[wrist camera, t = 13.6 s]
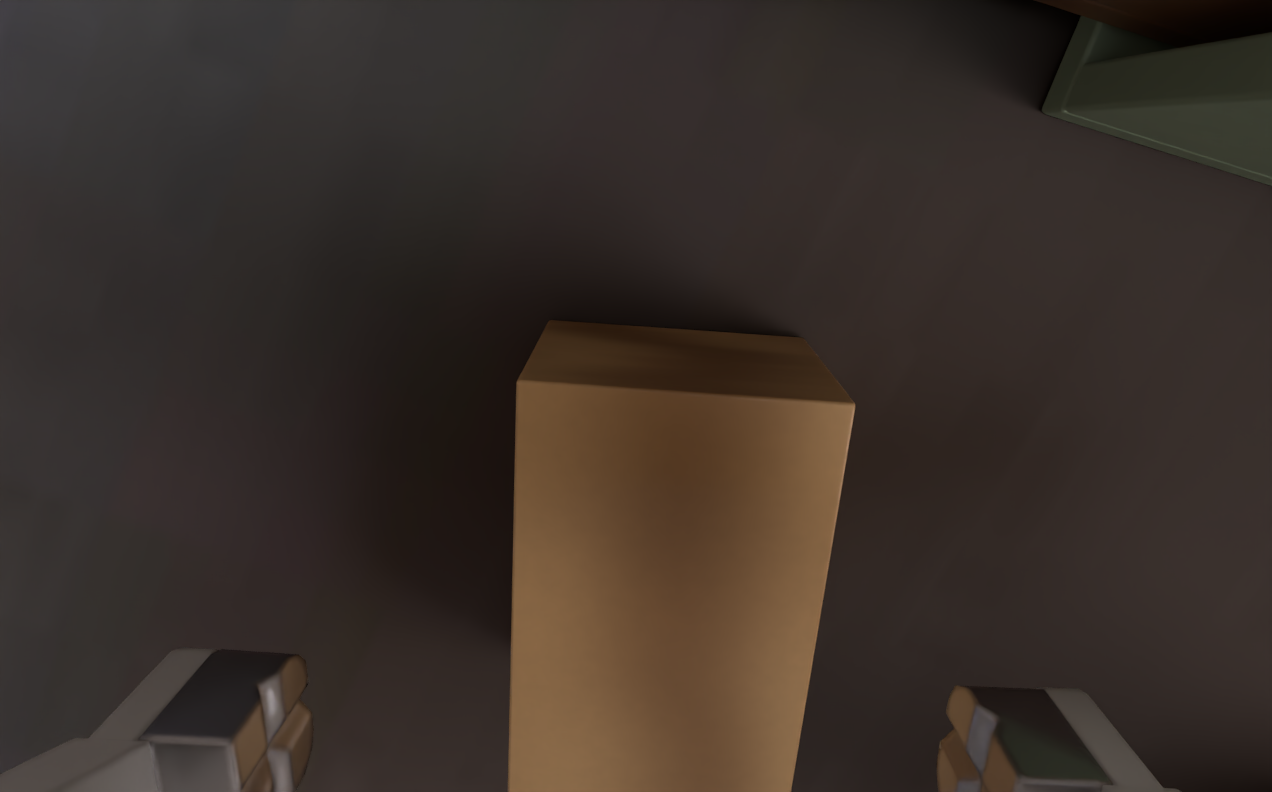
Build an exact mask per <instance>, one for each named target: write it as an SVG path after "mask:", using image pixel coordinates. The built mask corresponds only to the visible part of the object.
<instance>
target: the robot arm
mask: <svg viewBox="0 0 1272 792" xmlns="http://www.w3.org/2000/svg"><path fill="white" fill-rule="evenodd" d="M308 684H309V680H308V673H307V666H306V660H305V659H303V658H302V657H301V656H300V655H299V654H284V653H270V652H255V651H241V650H226V649H222V650H217V649H205V648H187V647H182V648H179V649H176V650H173V651H171V652H170V653H169V654H168V655H167V656H166V657H165V658H164V659H163V660H162V661H161V662H160V663H159V664H158V665H157V666H156V667H155V668H154V669H153V670H152V672H151V673H150V674H149V675H148V676H147V677H146V678H145V679H144V680H143V681H142V682H141V683H140V684H139V685H138V686H137V687H136V688H135V689H134V690H133V692H132V693H131V694H130V695H129V696H128V697H127V698H126V699H125V700H124V701H123V702H122V703H121V704H120V705H119V706H118V707H117V708H116V709H115V710H114V712H113V713H112V714H111V715H110V716H109V717H108V718H107V719H106V720H105V721H104V722H103V723H102V724H101V725H100V726H99V727H98V728H97V729H96V730H95V732H94V733H93V734H92V735H91V736H90V737H89V738H73V739H71V740H69V741H67V742H65V743H63V744H61V745H59V746H57V747H55V748H53V749H51V750H49V751H47V752H44V753H42V754H40V755H38V756H36V757H34V758H32V759H30V760H28V761H26V762H24V763H22V764H20V765H18V766H16V767H14V768H12V769H10V770H7V771H5V772H3V773H1V774H0V792H296V790H297V788H298V786H299V784H300V782H301V780H302V778H303V776H304V775H305V772H306V768H307V765H308V761H309V758H310V754H311V751H312V743H313V730H314V729H313V718H312V712H311V711H310V710H309V709H308V708H307V706H306V705H305V704H304V703H303V702H302V701H301V700H300V699H299V698H300V696H301V695H302V693H303V692H304V690H305V688H306V687H307V685H308ZM946 713H947V715H948V717H949V719H950V721H951V723H952V725H953V727H954V729H953V730H952V731H951V732H950V733H949V734H948V735H947V736H946V737H945V738H943V739H942V740H941V741H940V745H939V751H938V757H937V764H936V766H937V781H938V790H939V792H1181V791H1180V790H1178V789H1171V788H1163V787H1162V786H1161V784H1160V783H1159V782H1158V781H1157V780H1156V778H1155V777H1154V776H1153V775H1152V773H1151V772H1150V771H1149V770H1148V768H1147V767H1146V766H1145V765H1144V763H1143V762H1142V761H1141V760H1140V758H1139V757H1138V756H1137V755H1136V753H1135V752H1134V751H1133V750H1132V749H1131V747H1130V746H1129V745H1128V744H1127V742H1126V741H1125V740H1124V739H1123V737H1122V736H1121V735H1120V734H1119V732H1118V731H1117V730H1116V729H1115V727H1114V726H1113V725H1112V724H1111V722H1110V721H1109V720H1108V719H1107V717H1106V716H1105V715H1104V714H1103V713H1102V711H1101V710H1100V709H1099V708H1098V706H1097V705H1096V704H1095V703H1094V701H1093V700H1092V699H1091V698H1090V696H1089V695H1088V694H1087V693H1085V692H1083V691H1081V690H1080V689H1078V688H1043V687H1037V688H1035V689H1029V688H1005V687H981V686H957V685H956V686H955V687H954V689H953V691H952V692H951V694H950V696H949V701H948V705H947V710H946Z"/></svg>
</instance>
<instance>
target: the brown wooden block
mask: <svg viewBox="0 0 1272 792" xmlns="http://www.w3.org/2000/svg"><path fill="white" fill-rule="evenodd" d="M854 412H855V403H854V402H853V400H852V399H851V398H850V396H849V395H848V394H847V393H846V391H845V390H844V389H843V388H842V386H841V385H840V384H839V383H838V381H837V380H836V379H835V377H834V376H833V375H832V374H831V372H830V371H829V370H828V369H827V367H826V366H825V365H824V364H823V362H822V361H821V360H820V358H819V357H818V356H817V355H816V353H815V352H814V351H813V350H812V348H811V347H810V346H809V345H808V343H807V342H806V341H805V339H804V338H800V337H786V336H772V335H757V334H743V333H729V332H715V331H700V330H686V329H672V328H657V327H643V326H629V325H614V324H600V323H586V322H571V321H557V320H550V321H548V323H547V325H546V327H545V329H544V331H543V333H542V335H541V337H540V338H539V340H538V342H537V344H536V346H535V348H534V350H533V352H532V354H531V355H530V357H529V359H528V361H527V363H526V365H525V367H524V369H523V371H522V373H521V374H520V376H519V378H518V380H517V382H516V423H515V470H514V518H513V565H512V613H511V660H510V708H509V755H508V792H791V789H792V783H793V777H794V771H795V765H796V759H797V753H798V747H799V741H800V735H801V729H802V723H803V717H804V711H805V705H806V699H807V693H808V687H809V681H810V675H811V669H812V663H813V657H814V651H815V645H816V639H817V633H818V627H819V621H820V615H821V610H822V604H823V598H824V592H825V586H826V580H827V574H828V568H829V562H830V556H831V550H832V544H833V538H834V532H835V526H836V520H837V514H838V508H839V502H840V496H841V490H842V484H843V478H844V472H845V466H846V460H847V454H848V448H849V442H850V436H851V430H852V424H853V418H854Z"/></svg>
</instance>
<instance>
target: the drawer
mask: <svg viewBox="0 0 1272 792" xmlns="http://www.w3.org/2000/svg"><path fill="white" fill-rule="evenodd" d="M1035 1H1038V2H1041V3H1044V4H1047V5H1050V6H1054V7H1057V8H1060V9H1063V10H1066V11H1069V12H1072V13H1075V14H1078V15H1081V16H1084V17H1087V18H1090V19H1093V20H1096V21H1099V22H1102V23H1105V24H1108V25H1111V26H1114V27H1118V28H1121V29H1124V30H1127V31H1130V32H1133V33H1136V34H1139V35H1142V36H1145V37H1148V38H1151V39H1154V40H1157V41H1160V42H1163V43H1166V44H1169V45H1172V46H1175V47H1178V48H1181V47H1187V46H1193V45H1198V44H1204V43H1210V42H1216V41H1222V40H1228V39H1234V38H1240V37H1246V36H1252V35H1258V34H1264V33H1269V32H1272V0H1035Z"/></svg>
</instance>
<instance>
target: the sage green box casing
mask: <svg viewBox="0 0 1272 792" xmlns="http://www.w3.org/2000/svg"><path fill="white" fill-rule="evenodd" d="M1042 112H1043V113H1044V114H1046V115H1049V116H1052V117H1056V118H1059V119H1062V120H1065V121H1068V122H1071V123H1075V124H1078V125H1081V126H1084V127H1087V128H1090V129H1093V130H1097V131H1100V132H1103V133H1106V134H1109V135H1112V136H1116V137H1119V138H1122V139H1125V140H1128V141H1131V142H1135V143H1138V144H1141V145H1144V146H1147V147H1150V148H1154V149H1157V150H1160V151H1163V152H1166V153H1169V154H1172V155H1176V156H1179V157H1182V158H1185V159H1188V160H1191V161H1195V162H1198V163H1201V164H1204V165H1207V166H1210V167H1214V168H1217V169H1220V170H1223V171H1226V172H1229V173H1233V174H1236V175H1239V176H1242V177H1245V178H1248V179H1251V180H1255V181H1258V182H1261V183H1264V184H1267V185H1270V186H1272V32H1269V33H1264V34H1258V35H1252V36H1246V37H1240V38H1234V39H1228V40H1222V41H1216V42H1210V43H1204V44H1198V45H1193V46H1187V47H1181V48H1178V47H1175V46H1172V45H1169V44H1166V43H1163V42H1160V41H1157V40H1154V39H1151V38H1148V37H1145V36H1142V35H1139V34H1136V33H1133V32H1130V31H1127V30H1124V29H1121V28H1118V27H1114V26H1111V25H1108V24H1105V23H1102V22H1099V21H1096V20H1093V19H1090V18H1087V17H1084V16H1081V17H1080V19H1079V22H1078V24H1077V27H1076V29H1075V31H1074V34H1073V36H1072V38H1071V41H1070V43H1069V45H1068V48H1067V50H1066V52H1065V55H1064V57H1063V60H1062V62H1061V64H1060V67H1059V69H1058V71H1057V74H1056V76H1055V78H1054V81H1053V83H1052V86H1051V88H1050V90H1049V93H1048V95H1047V97H1046V100H1045V102H1044V104H1043V107H1042Z"/></svg>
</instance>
